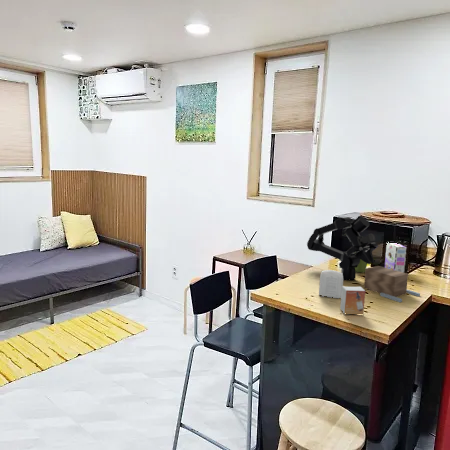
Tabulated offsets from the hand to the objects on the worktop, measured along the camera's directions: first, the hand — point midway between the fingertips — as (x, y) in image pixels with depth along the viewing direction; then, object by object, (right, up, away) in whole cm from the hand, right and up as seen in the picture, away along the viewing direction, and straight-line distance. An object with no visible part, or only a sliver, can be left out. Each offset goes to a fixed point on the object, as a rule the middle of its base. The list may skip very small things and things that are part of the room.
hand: (371, 263), depth 192 cm
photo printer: (-24, -14, -14) cm, 32 cm away
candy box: (+22, -8, +26) cm, 36 cm away
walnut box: (+4, -13, -5) cm, 14 cm away
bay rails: (+8, -14, -11) cm, 19 cm away
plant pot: (+3, -7, +29) cm, 30 cm away
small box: (-21, -17, -33) cm, 43 cm away
